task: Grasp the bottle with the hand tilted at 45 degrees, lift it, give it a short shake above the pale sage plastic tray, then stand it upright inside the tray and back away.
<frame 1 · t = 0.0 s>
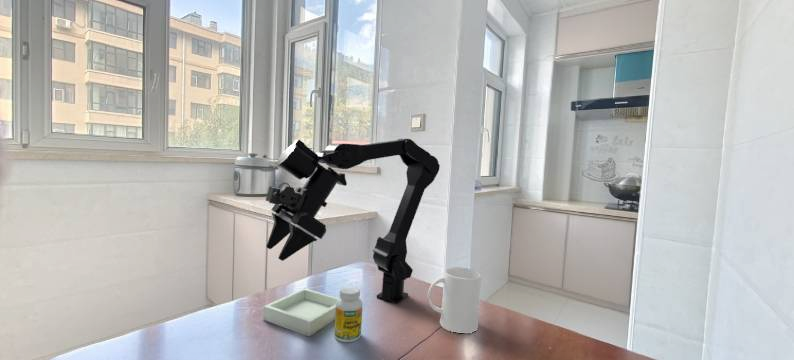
hand: (274, 253, 71), 15 cm above the table, tool tilted 35°, fingers open, 9 cm apart
tray: (306, 316, 75), on the table
mug: (451, 325, 76), on the table
supplement bottle: (347, 337, 68), on the table
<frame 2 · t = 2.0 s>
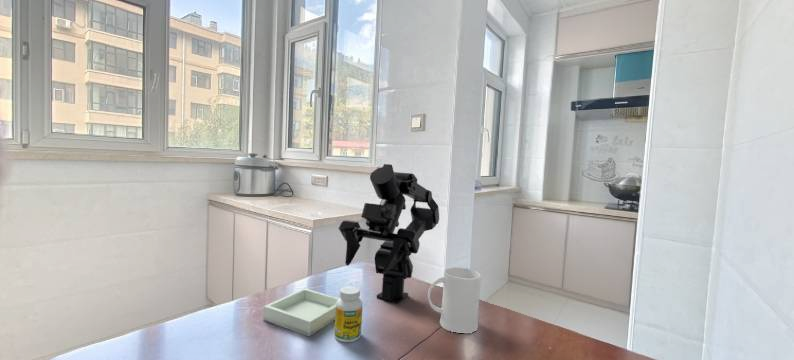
hand: (365, 268, 73), 12 cm above the table, tool tilted 45°, fingers open, 9 cm apart
nothing on the table moved.
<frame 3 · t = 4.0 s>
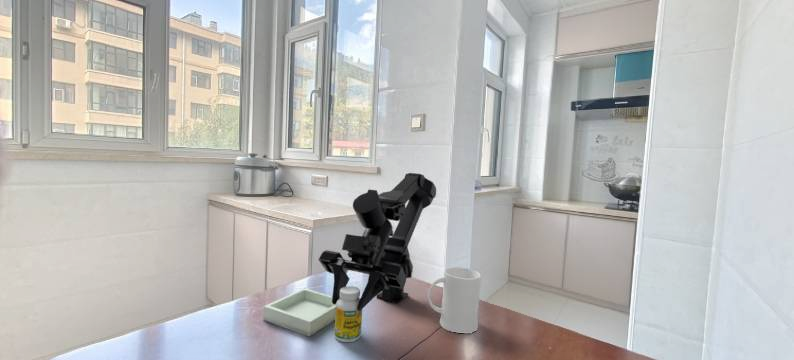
hand: (345, 306, 66), 7 cm above the table, tool tilted 45°, fingers closed on supplement bottle, 5 cm apart
supplement bottle: (347, 337, 68), on the table, touching gripper
everything else where it was.
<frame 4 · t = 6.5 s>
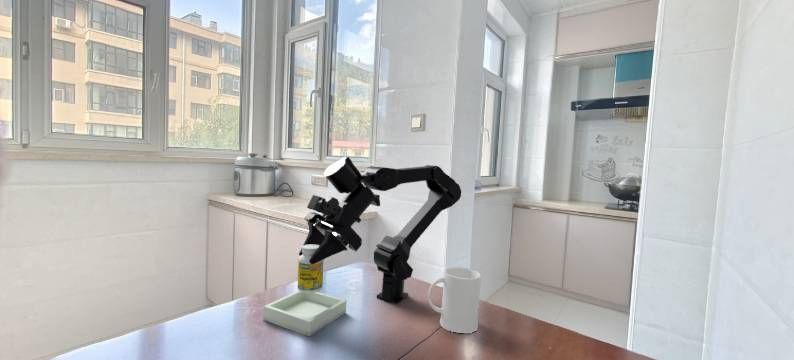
hand: (305, 259, 73), 13 cm above the table, tool tilted 45°, fingers closed on supplement bottle, 5 cm apart
supplement bottle: (309, 289, 75), point 6 cm above the table, touching gripper
everything else where it was.
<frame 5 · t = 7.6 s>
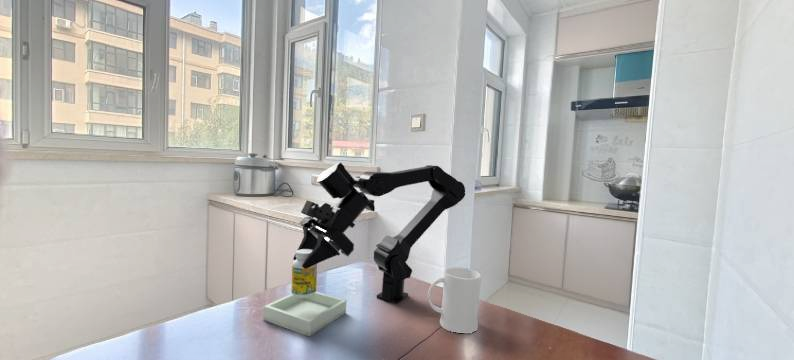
hand: (298, 263, 75), 12 cm above the table, tool tilted 45°, fingers closed on supplement bottle, 5 cm apart
supplement bottle: (303, 294, 76), point 5 cm above the table, touching gripper
everything else where it was.
when the fingers open (9 cm above the table, at t = 8.7 s): supplement bottle stays where it is, resting on tray.
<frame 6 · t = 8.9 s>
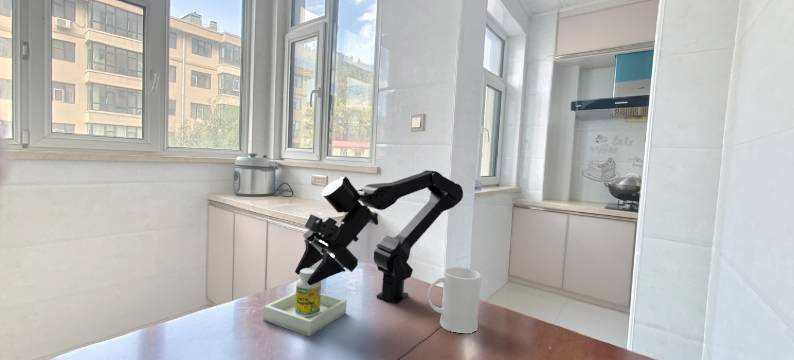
hand: (302, 278, 74), 9 cm above the table, tool tilted 45°, fingers open, 7 cm apart
supplement bottle: (307, 313, 75), point 1 cm above the table, touching tray
everything else where it was.
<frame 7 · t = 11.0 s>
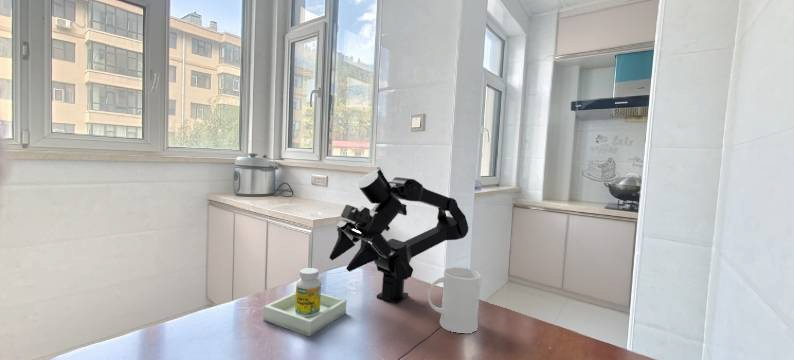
hand: (338, 264, 79), 11 cm above the table, tool tilted 45°, fingers open, 9 cm apart
nothing on the table moved.
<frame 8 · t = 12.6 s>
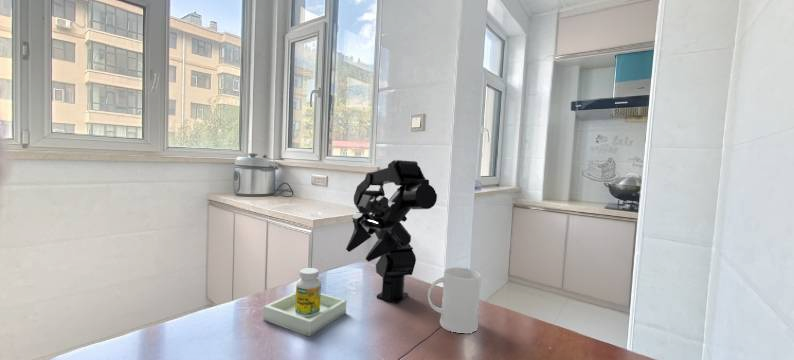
hand: (356, 255, 78), 14 cm above the table, tool tilted 45°, fingers open, 9 cm apart
nothing on the table moved.
at the end: supplement bottle inside the target area on the tray (0.2 cm from its centre), point 0.6 cm above the tray's base; supplement bottle tilted 0°; the gripper is holding nothing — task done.
